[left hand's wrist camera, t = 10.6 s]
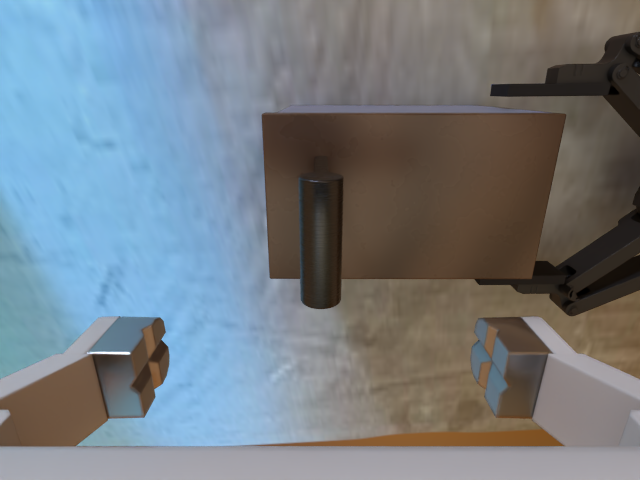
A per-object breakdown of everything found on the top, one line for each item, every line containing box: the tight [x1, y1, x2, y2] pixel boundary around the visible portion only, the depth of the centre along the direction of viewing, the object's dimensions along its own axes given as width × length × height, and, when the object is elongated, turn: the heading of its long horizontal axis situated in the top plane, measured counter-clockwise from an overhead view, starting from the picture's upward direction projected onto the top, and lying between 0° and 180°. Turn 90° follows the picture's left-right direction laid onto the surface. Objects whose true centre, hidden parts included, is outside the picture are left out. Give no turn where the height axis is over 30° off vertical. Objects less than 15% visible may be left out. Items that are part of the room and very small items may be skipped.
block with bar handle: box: [262, 113, 566, 309], centre depth 20 cm, size 16×10×8 cm, turn 90°
